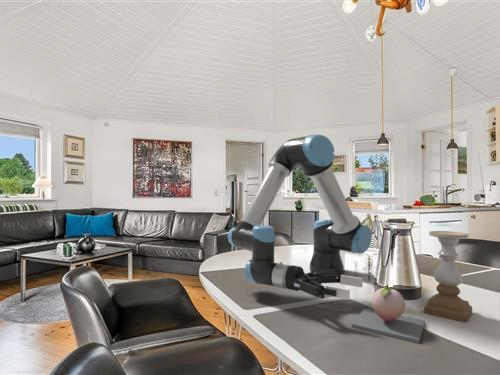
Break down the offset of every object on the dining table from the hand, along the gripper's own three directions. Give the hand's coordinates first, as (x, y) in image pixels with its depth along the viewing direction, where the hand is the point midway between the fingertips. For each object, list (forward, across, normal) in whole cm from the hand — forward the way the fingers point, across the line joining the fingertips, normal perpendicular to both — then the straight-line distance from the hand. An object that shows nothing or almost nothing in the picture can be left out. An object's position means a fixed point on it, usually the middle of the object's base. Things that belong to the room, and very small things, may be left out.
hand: (356, 288), depth 93 cm
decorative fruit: (+9, 0, +8) cm, 12 cm away
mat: (+9, 0, +8) cm, 12 cm away
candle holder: (+22, +20, +9) cm, 31 cm away
